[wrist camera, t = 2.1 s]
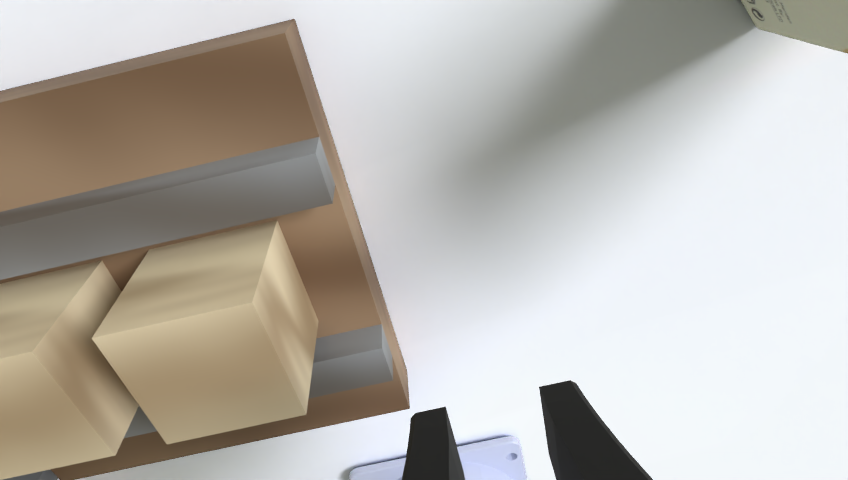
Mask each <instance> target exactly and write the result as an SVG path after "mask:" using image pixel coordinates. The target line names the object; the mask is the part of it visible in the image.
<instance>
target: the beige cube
mask: <svg viewBox="0 0 848 480" xmlns="http://www.w3.org/2000/svg"><path fill="white" fill-rule="evenodd" d="M121 292H122V291H121V290H120V288H119V287H118V285H117V283H116V282H115V280H114V279H113V277H112V276H111V274H110V272H109V271H108V269H107V268H106V266H105V264H104V263H103V261H98V262H93V263H89V264H84V265H80V266H76V267H71V268H67V269H63V270H58V271H54V272H50V273H45V274H41V275H37V276H32V277H28V278H23V279H19V280H15V281H10V282H6V283H2V284H0V480H3V479H7V478H12V477H17V476H21V475H26V474H31V473H36V472H40V471H45V470H50V469H54V468H59V467H64V466H68V465H73V464H78V463H82V462H87V461H92V460H96V459H101V458H106V457H110V456H115V455H116V453H117V451H118V449H119V447H120V445H121V443H122V440H123V438H124V436H125V434H126V432H127V430H128V428H129V426H130V423H131V421H132V419H133V417H134V415H135V413H136V411H137V408H138V406H139V404H138V403H137V402H136V400H135V399H134V397H133V396H132V394H131V393H130V392H129V390H128V389H127V387H126V386H125V385H124V383H123V382H122V380H121V379H120V378H119V376H118V375H117V373H116V372H115V371H114V369H113V368H112V366H111V365H110V363H109V362H108V361H107V359H106V358H105V356H104V355H103V354H102V352H101V351H100V349H99V348H98V347H97V345H96V344H95V342H94V341H93V340H92V337H93V335H94V334H95V332H96V331H97V329H98V328H99V326H100V325H101V323H102V321H103V320H104V318H105V317H106V315H107V314H108V312H109V311H110V309H111V308H112V306H113V305H114V303H115V302H116V300H117V298H118V297H119V295H120V294H121Z"/></svg>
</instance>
